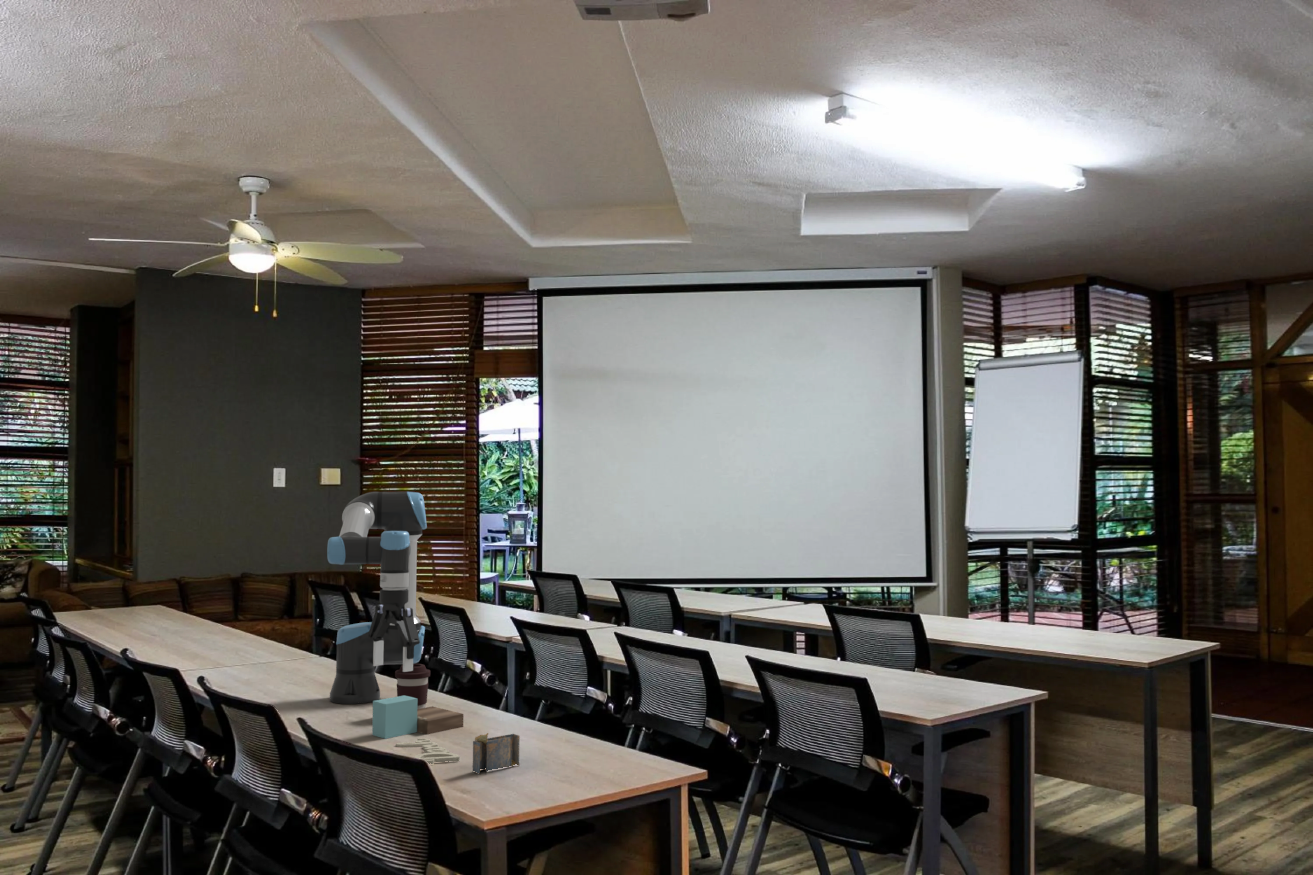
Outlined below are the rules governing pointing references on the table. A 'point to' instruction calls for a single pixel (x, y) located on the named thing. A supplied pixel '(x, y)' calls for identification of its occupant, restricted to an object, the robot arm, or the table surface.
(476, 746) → the rusty metal bracket
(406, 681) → the coffee cup
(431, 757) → the decorative sign
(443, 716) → the brown block
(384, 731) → the light teal block
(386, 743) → the table surface
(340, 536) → the robot arm
